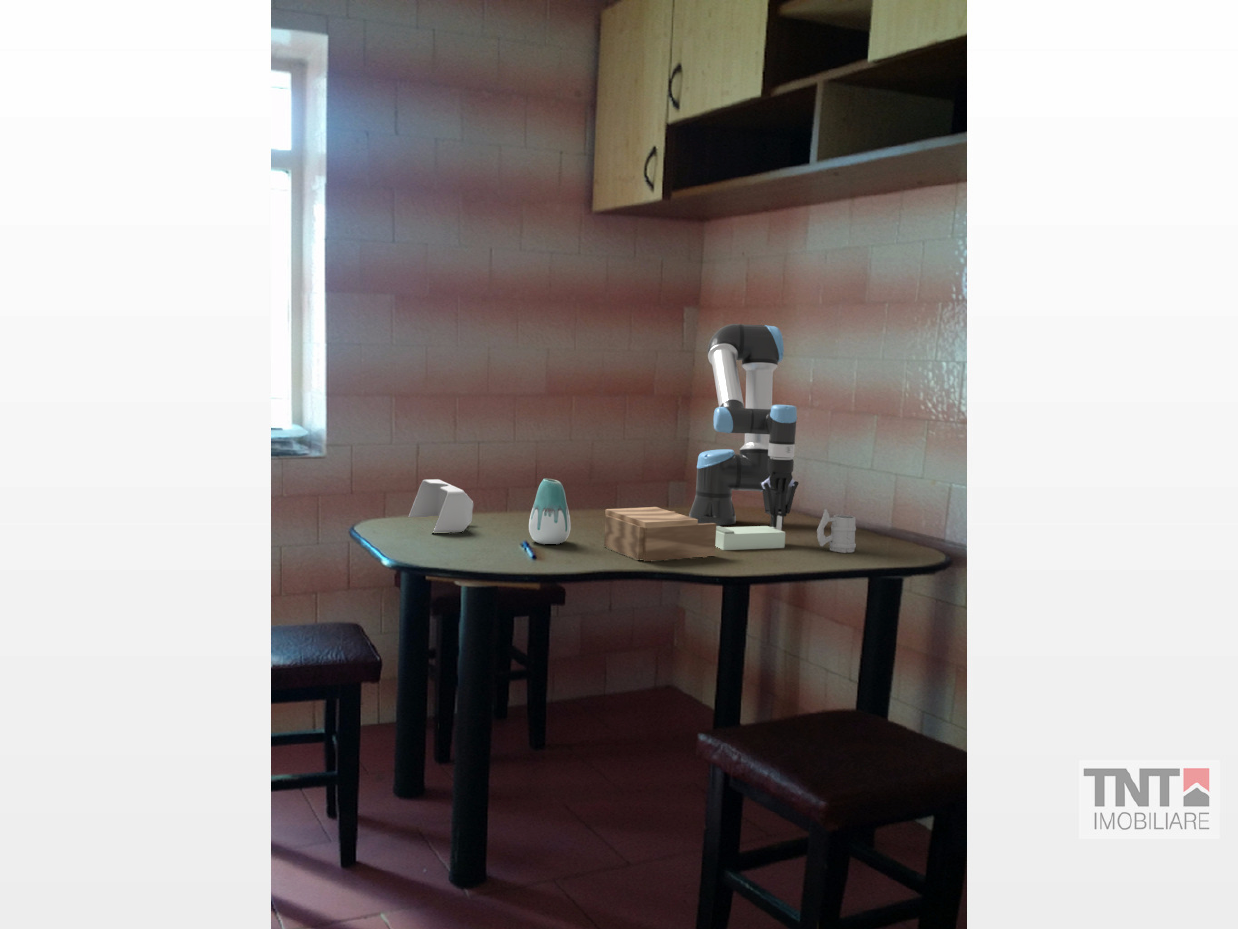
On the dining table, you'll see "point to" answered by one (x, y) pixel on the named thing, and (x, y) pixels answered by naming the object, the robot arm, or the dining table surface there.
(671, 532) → the wooden box
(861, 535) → the dining table surface
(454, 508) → the white angular cover
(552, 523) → the vase
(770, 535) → the pale green block
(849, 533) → the mug
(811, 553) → the dining table surface
